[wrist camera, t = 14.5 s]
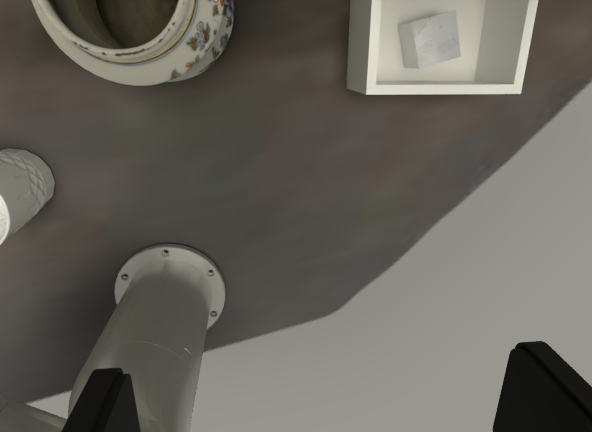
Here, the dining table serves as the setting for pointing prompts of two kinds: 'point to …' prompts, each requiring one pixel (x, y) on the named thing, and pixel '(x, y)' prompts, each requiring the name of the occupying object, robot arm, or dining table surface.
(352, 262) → the dining table surface
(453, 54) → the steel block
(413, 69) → the tub
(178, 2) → the apothecary jar
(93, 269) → the dining table surface
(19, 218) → the white cup
